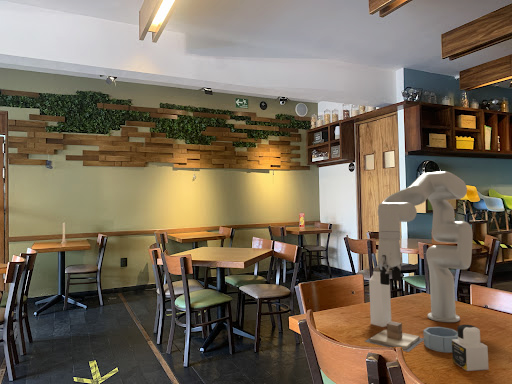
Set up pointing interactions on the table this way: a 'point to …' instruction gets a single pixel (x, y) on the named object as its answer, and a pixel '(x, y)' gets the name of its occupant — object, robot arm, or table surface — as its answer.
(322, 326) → the table surface
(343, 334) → the table surface
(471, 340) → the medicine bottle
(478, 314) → the table surface
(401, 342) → the lid
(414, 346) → the mat
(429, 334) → the bowl
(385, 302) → the milk
